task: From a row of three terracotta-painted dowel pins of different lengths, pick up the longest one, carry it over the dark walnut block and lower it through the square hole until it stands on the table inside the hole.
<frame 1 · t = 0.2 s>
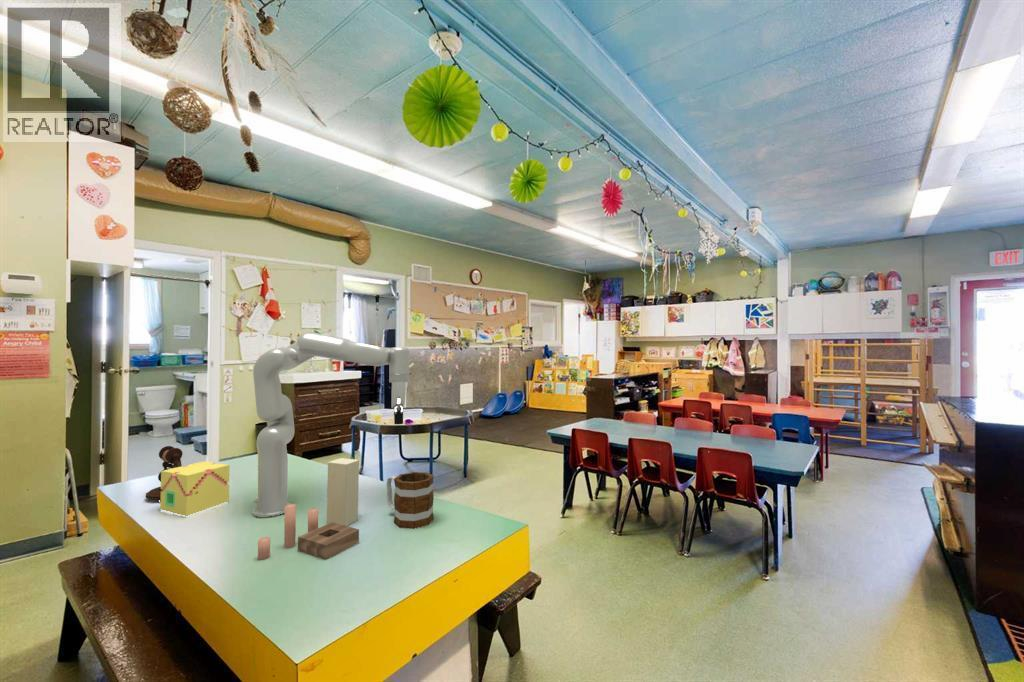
hand: (398, 422, 165), 31 cm above the table, tool pointing down, fingers open, 9 cm apart
mug: (407, 519, 148), on the table
hole block: (328, 546, 127), on the table
brown rounded figure: (169, 497, 170), on the table
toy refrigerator: (343, 522, 145), on the table
pin short: (263, 557, 120), on the table
pin long: (289, 545, 127), on the table
toy block: (195, 508, 158), on the table
pin medium: (312, 535, 134), on the table
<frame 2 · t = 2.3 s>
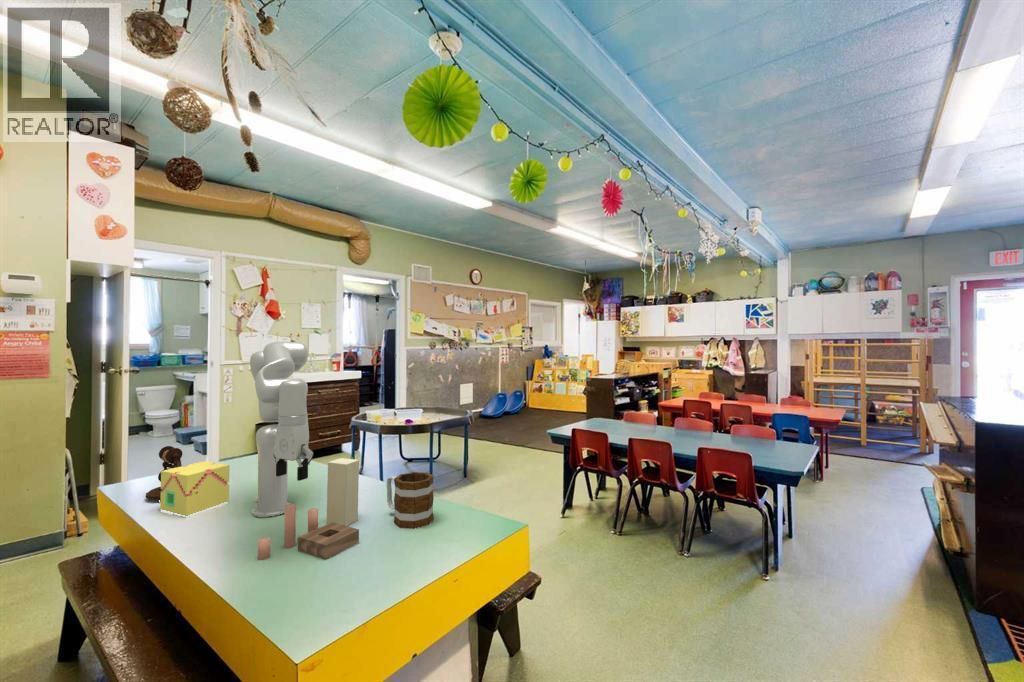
hand: (291, 477, 128), 20 cm above the table, tool pointing down, fingers open, 9 cm apart
nothing on the table moved.
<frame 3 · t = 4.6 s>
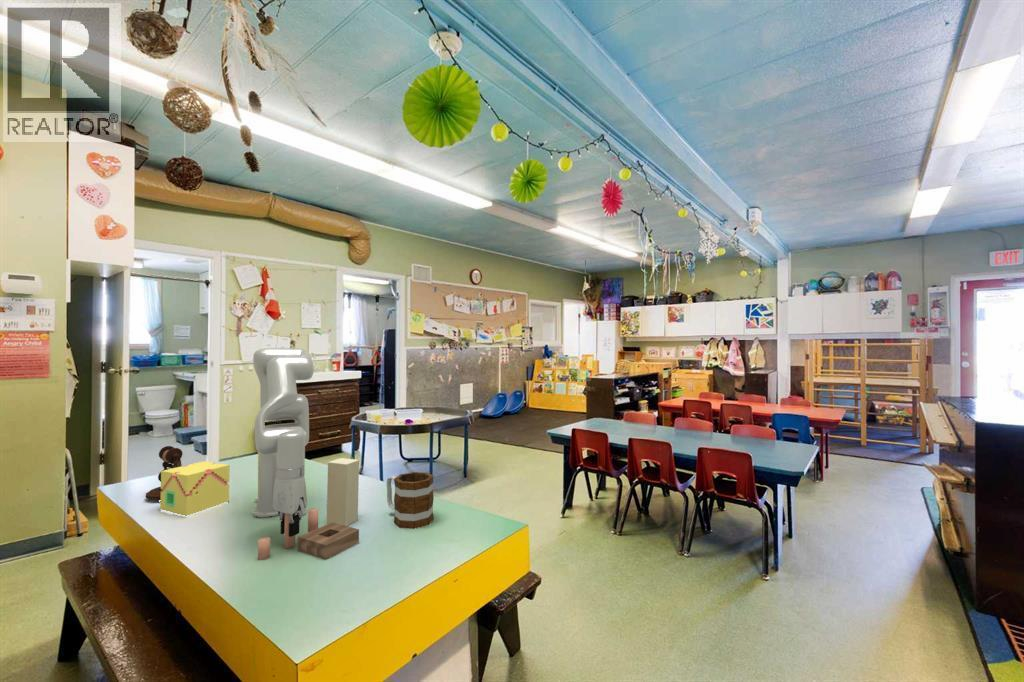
hand: (289, 533, 127), 4 cm above the table, tool pointing down, fingers closed on pin long, 3 cm apart
pin long: (289, 545, 127), on the table, touching gripper
everything else where it was.
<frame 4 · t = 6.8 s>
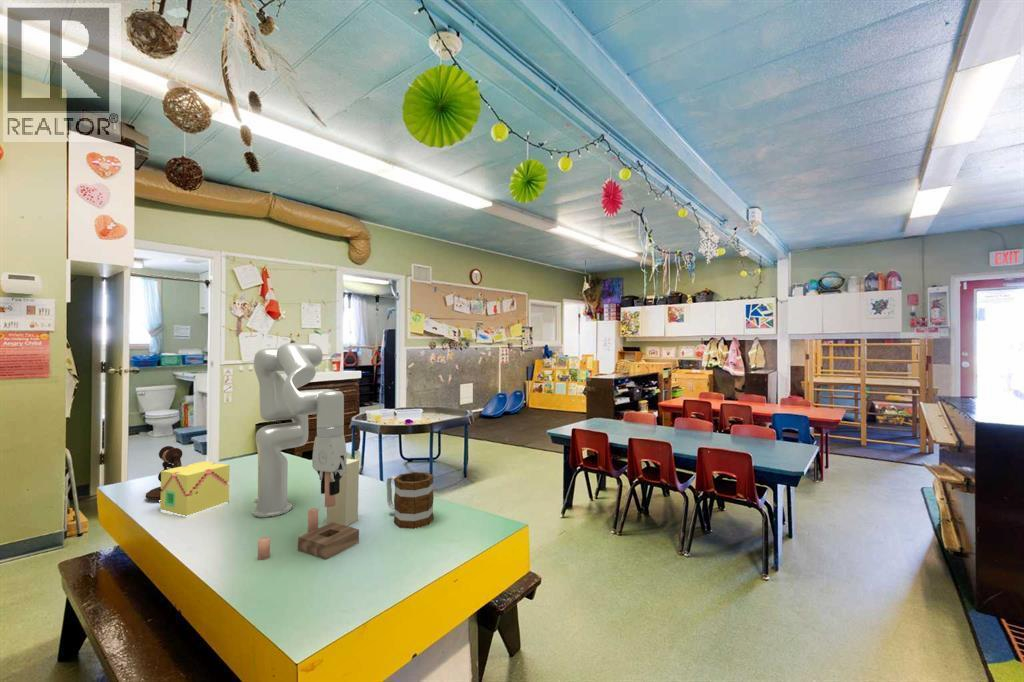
hand: (330, 492, 127), 16 cm above the table, tool pointing down, fingers closed on pin long, 3 cm apart
pin long: (330, 505, 127), point 12 cm above the table, touching gripper
everything else where it was.
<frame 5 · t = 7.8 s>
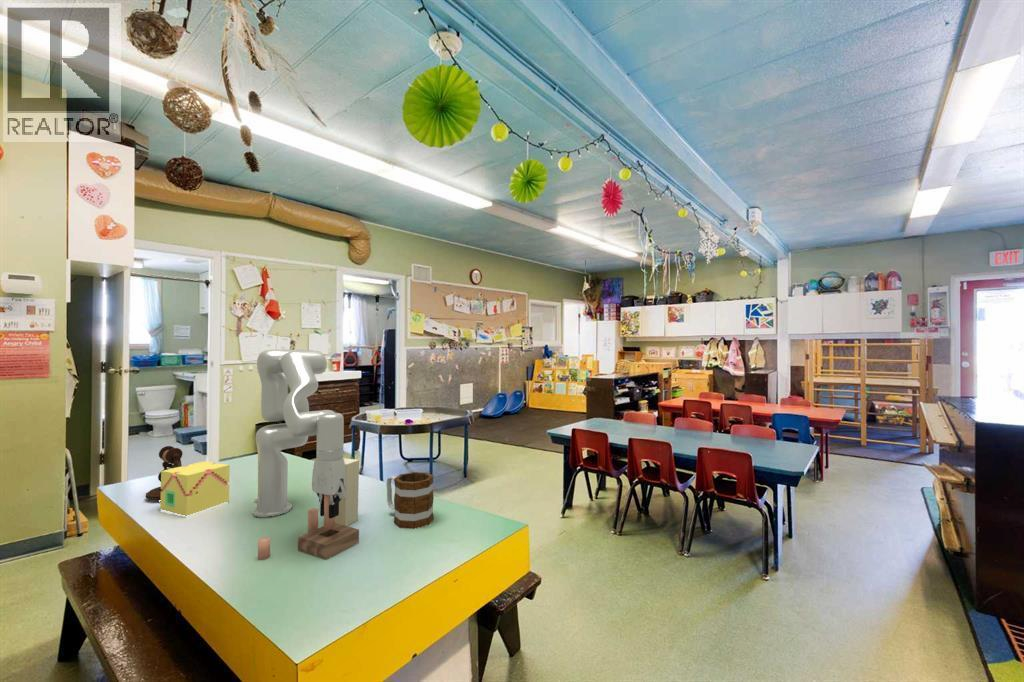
hand: (329, 515, 127), 9 cm above the table, tool pointing down, fingers closed on pin long, 3 cm apart
pin long: (329, 527, 127), point 6 cm above the table, touching gripper
everything else where it was.
when the fingers open (5 cm above the table, at t = 8.8 s): pin long drops 1 cm, resting in hole block.
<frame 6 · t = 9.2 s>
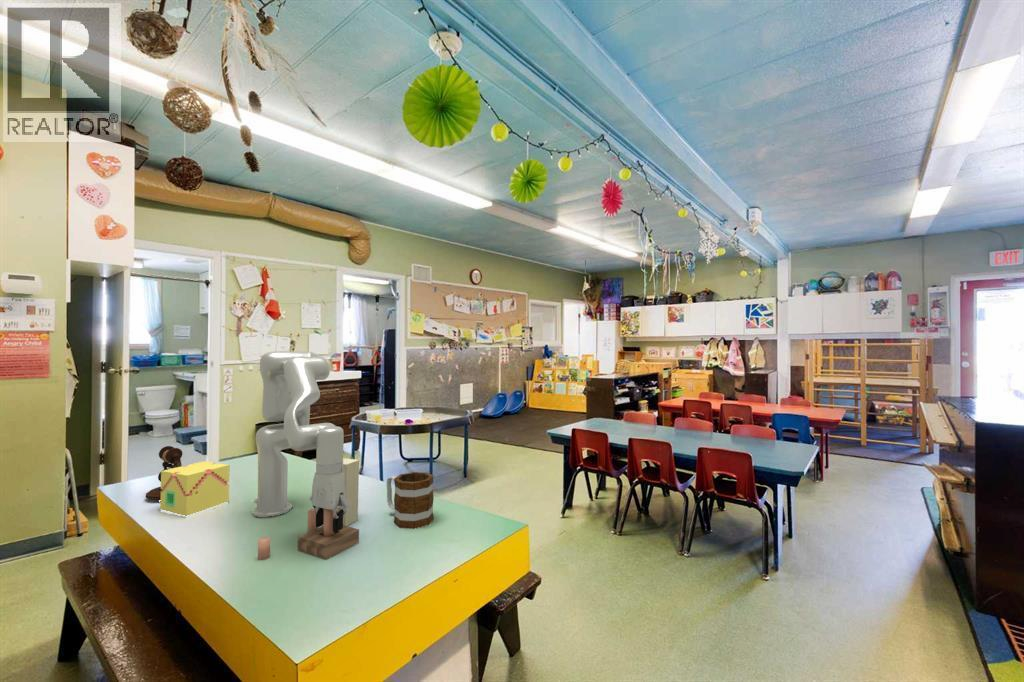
hand: (329, 527, 127), 6 cm above the table, tool pointing down, fingers open, 6 cm apart
pin long: (328, 546, 127), resting in hole block
everything else where it was.
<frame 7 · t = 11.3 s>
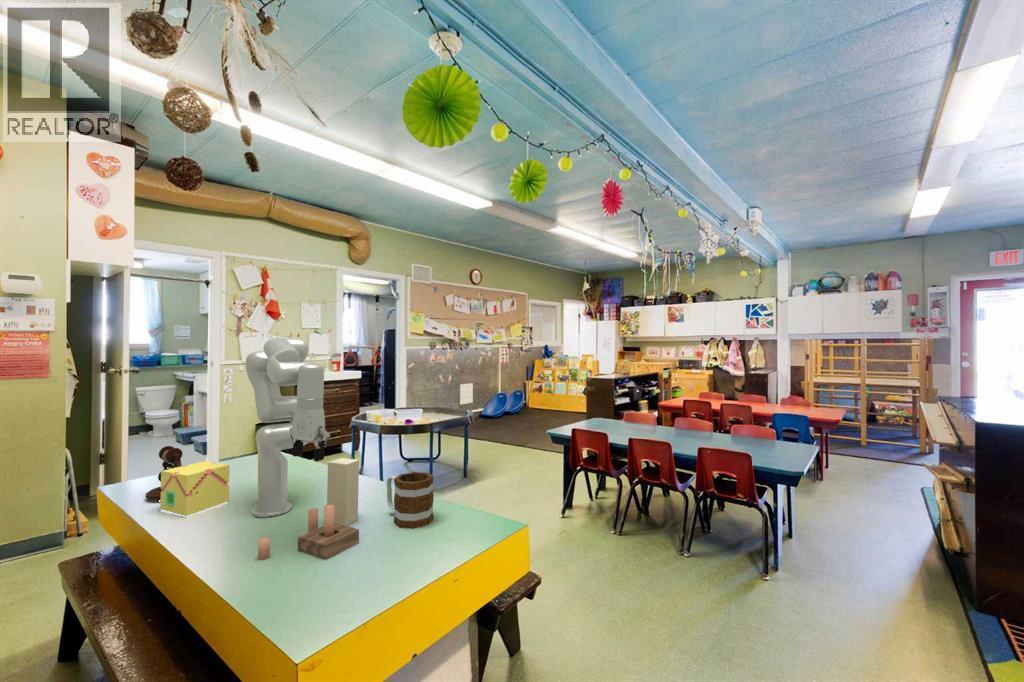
hand: (308, 457, 132), 25 cm above the table, tool pointing down, fingers open, 9 cm apart
nothing on the table moved.
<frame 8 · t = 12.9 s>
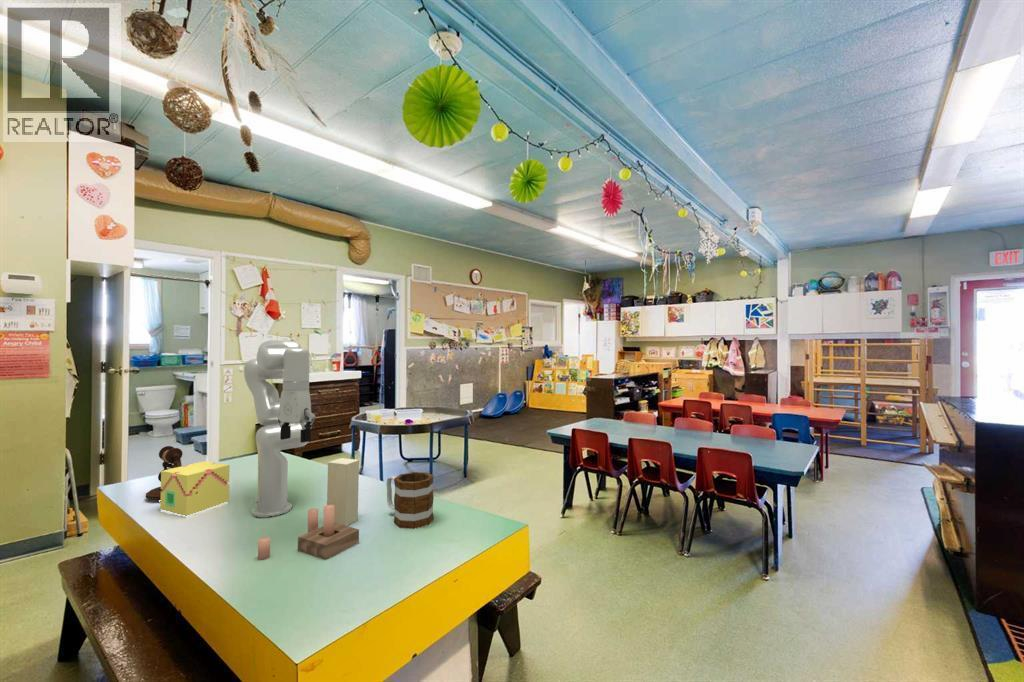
hand: (295, 440, 135), 30 cm above the table, tool pointing down, fingers open, 9 cm apart
nothing on the table moved.
at the end: pin long 0.0 cm off-centre on the hole block, point 0.0 cm above the hole block's base; pin long tilted 0°; the gripper is holding nothing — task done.
